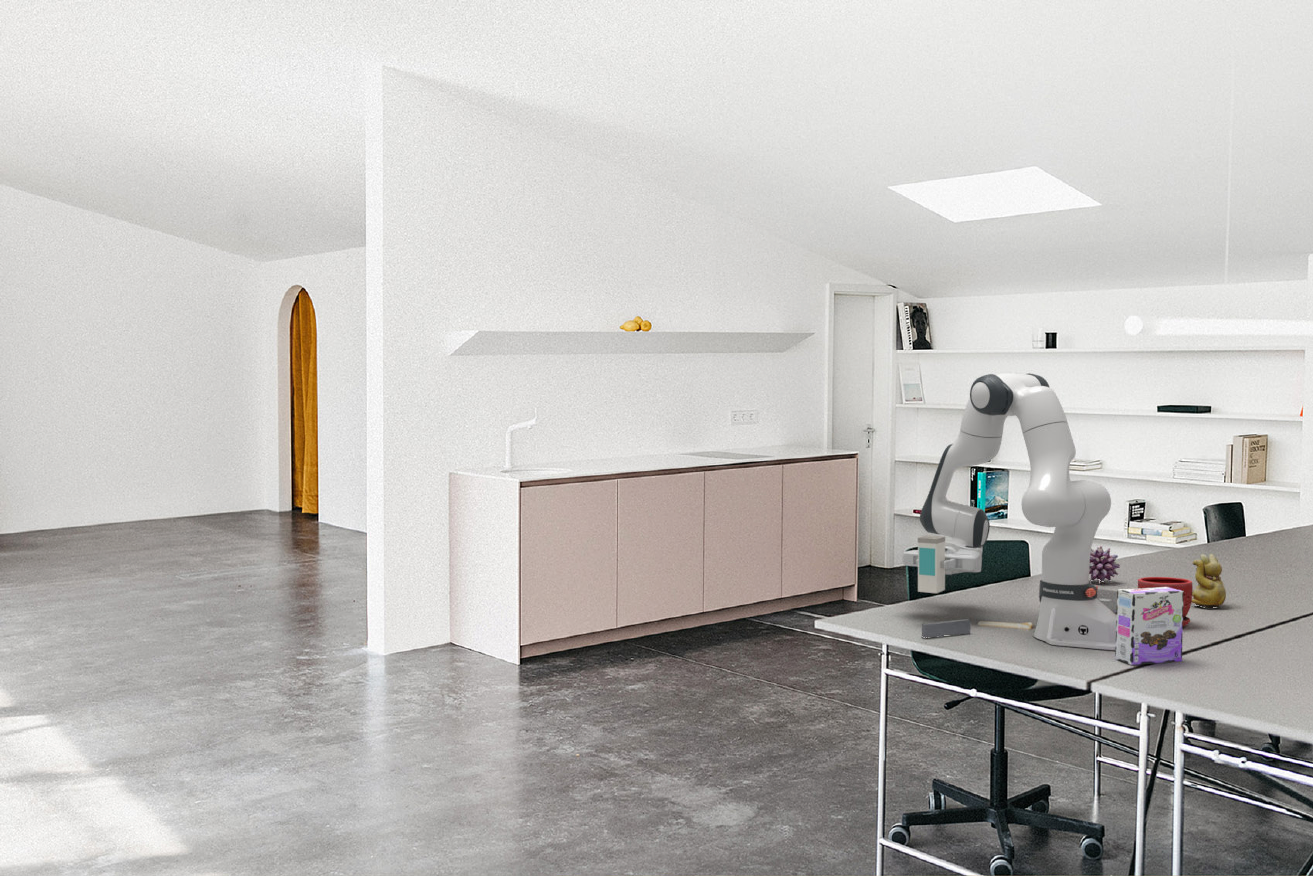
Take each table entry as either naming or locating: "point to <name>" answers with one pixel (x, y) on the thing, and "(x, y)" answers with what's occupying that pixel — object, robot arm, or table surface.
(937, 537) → the carton
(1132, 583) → the table surface
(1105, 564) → the purple spiky ball
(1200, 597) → the decorative figurine
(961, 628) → the rail
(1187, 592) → the plant pot
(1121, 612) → the candy box
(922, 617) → the table surface
